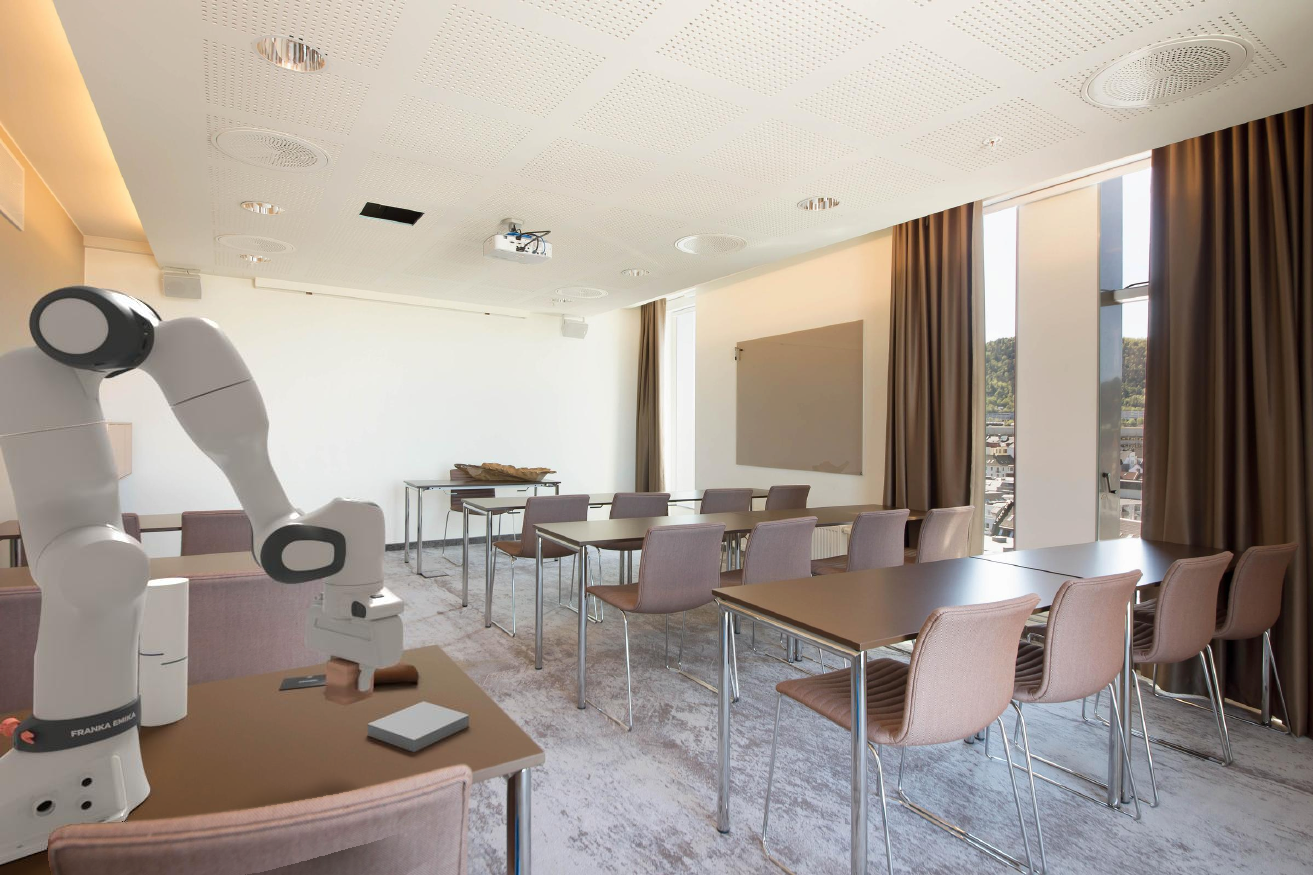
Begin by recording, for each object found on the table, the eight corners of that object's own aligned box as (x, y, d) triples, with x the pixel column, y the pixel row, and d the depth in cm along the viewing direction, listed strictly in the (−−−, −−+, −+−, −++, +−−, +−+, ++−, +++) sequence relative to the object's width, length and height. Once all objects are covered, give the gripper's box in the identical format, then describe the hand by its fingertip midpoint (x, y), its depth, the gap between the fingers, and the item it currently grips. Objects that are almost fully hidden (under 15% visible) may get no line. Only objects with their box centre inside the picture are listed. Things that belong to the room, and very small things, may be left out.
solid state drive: (283, 681, 144) (283, 678, 144) (335, 676, 147) (335, 673, 147) (278, 692, 137) (278, 689, 137) (332, 686, 141) (332, 683, 141)
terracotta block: (344, 705, 104) (346, 666, 104) (325, 698, 107) (326, 660, 107) (372, 696, 108) (374, 658, 109) (353, 690, 111) (354, 653, 111)
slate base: (414, 751, 111) (414, 739, 111) (367, 735, 117) (367, 723, 117) (468, 725, 121) (469, 714, 121) (423, 711, 127) (423, 701, 127)
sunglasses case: (422, 670, 149) (420, 649, 146) (419, 696, 143) (417, 675, 140) (334, 676, 145) (331, 654, 142) (327, 703, 139) (323, 681, 136)
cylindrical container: (146, 713, 125) (148, 579, 125) (191, 708, 128) (193, 576, 128) (132, 728, 119) (134, 586, 119) (180, 722, 121) (182, 584, 121)
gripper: (296, 593, 110) (292, 678, 110) (377, 610, 100) (373, 704, 100) (331, 587, 116) (327, 668, 115) (412, 603, 106) (408, 692, 105)
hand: (349, 685), depth 107 cm, fingers closed on terracotta block, 5 cm apart
